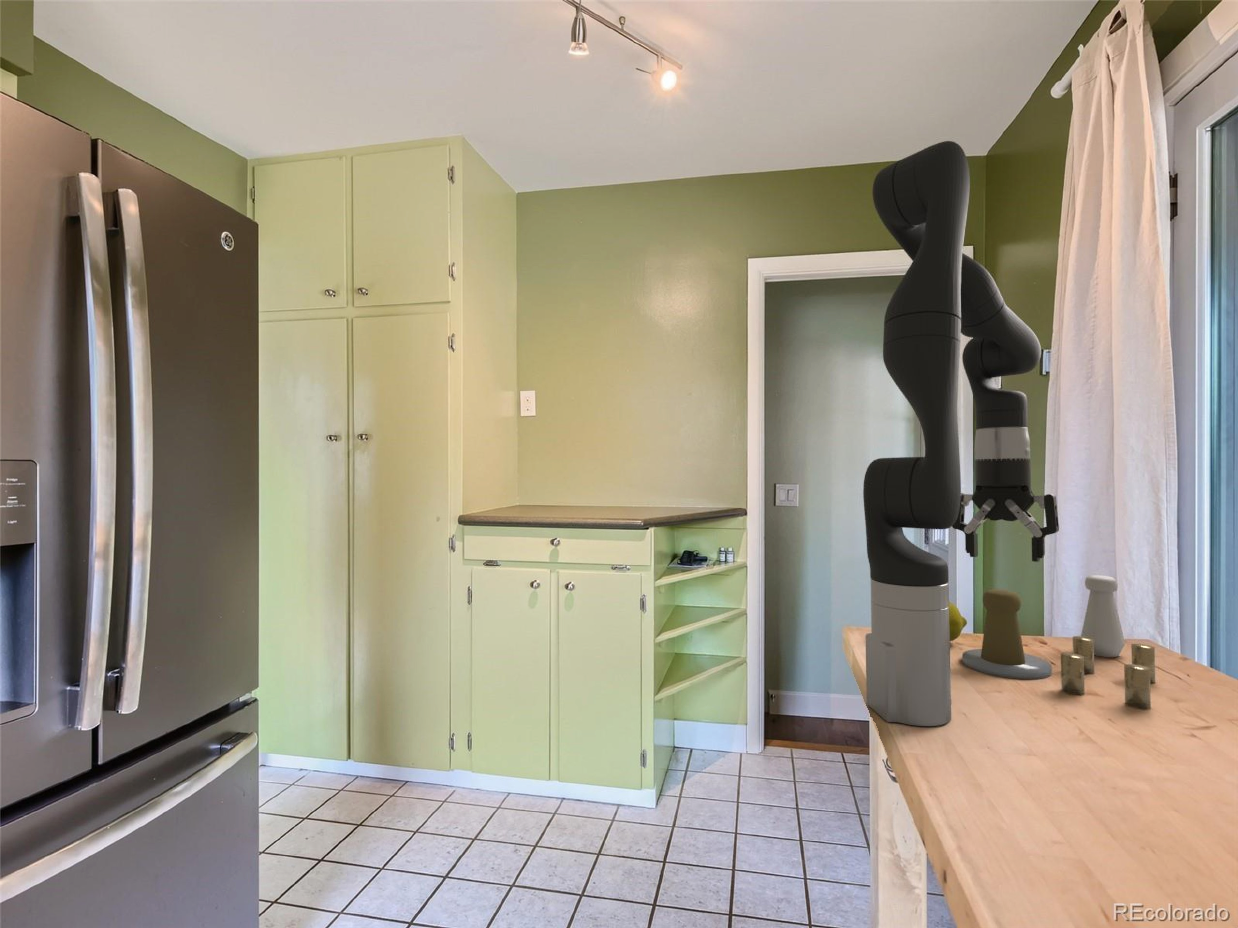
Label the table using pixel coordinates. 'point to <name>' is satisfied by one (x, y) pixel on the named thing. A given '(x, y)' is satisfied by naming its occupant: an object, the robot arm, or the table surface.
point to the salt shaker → (1103, 617)
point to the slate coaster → (1008, 666)
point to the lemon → (955, 622)
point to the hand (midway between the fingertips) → (1003, 558)
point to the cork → (1002, 628)
